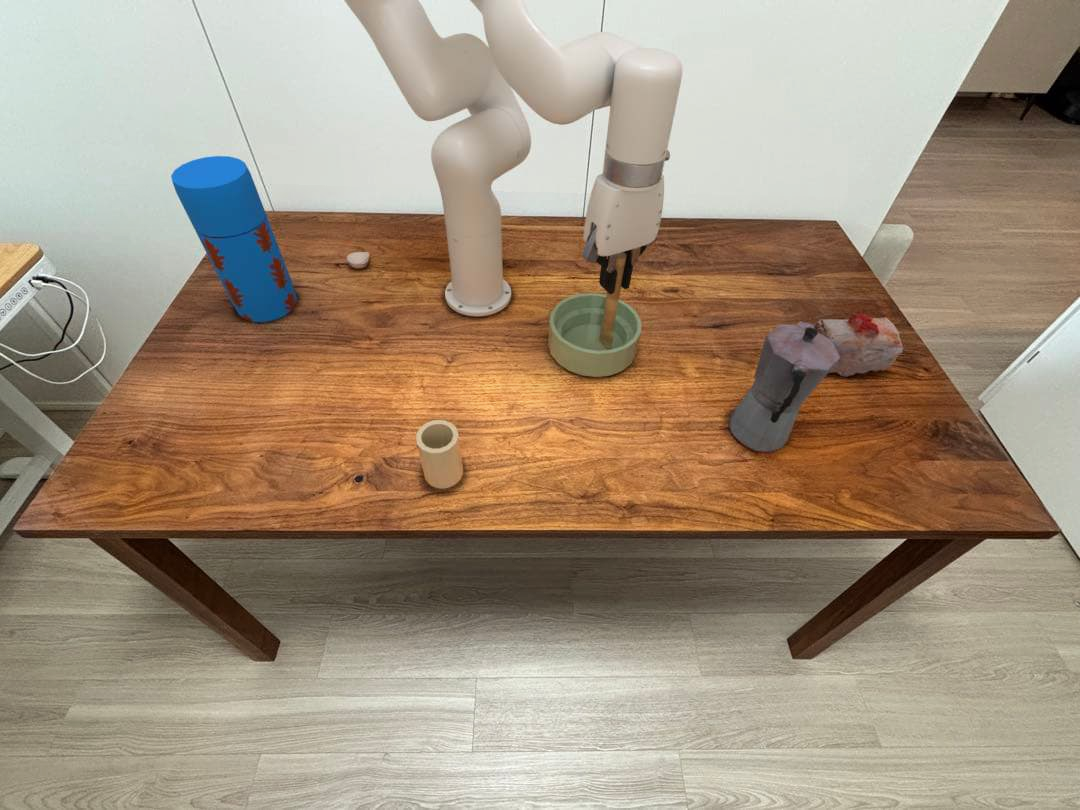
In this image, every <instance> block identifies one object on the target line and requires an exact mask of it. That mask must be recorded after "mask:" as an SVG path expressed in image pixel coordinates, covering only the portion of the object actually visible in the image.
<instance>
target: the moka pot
mask: <svg viewBox="0 0 1080 810" xmlns="http://www.w3.org/2000/svg"><path fill="white" fill-rule="evenodd" d="M814 326H815V325H813V324H812V323H808V322H804V321H801V320H800V321H798V322H797V324H779V325H777V326H776V327H775V328H774V329H773V330H771V331H770V332H769V333H768V334H767V335H766V336H765V338H764V342H763V345H762V347H761V348H762V349H761V353H760V355H759V359H758V363H757V365H756V368H755V371H754V375H753V378H754V381H753V384H752V386H751V387H750V388H749V390H748V391H747V392H746V393H745V395H744V397H743V398H742V399H741V400H740V402H739V403H738V404H737V406H736V408H735V409H734V410H733V411H732V413H731V414H730V418H729V421H728V422H729V424H728V427H729V429H730V432H731V434H732V435H733V436H734V437H735V439H736V440H738V441H739V442H740V443H741V444H742V445H744V446H746V447H747V448H749V449H751V450H753V451H755V452H763V453H769V452H776V451H778V450H780V449H781V448H783V447H784V446H786V444H787V442H788V440H789V437H790V435H791V432H792V430H793V427H794V425H795V422H796V419H797V417H798V414H799V411H800V409H801V406H802V405H803V403H804V402H805V401H806V400H807V398H808V397H810V396H811V395H812V393H813V392H814V391H815V390H816V388H817V387H818V386H819V385H820V383H821V382H822V381H823V380H824V379H825V377H826V376H827V375H828V374H830V373H829V371H830V370H831V369H832V368H833V367H834V365H835V364H836V363H837V362H838V361H839V359H840V356H839V354H838V352H837V350H836V349H835V347H834V345H833V343H832V341H831V339H829V338H827V337H826V336H824V335H822V334H820V333H818V331H817V330H816V329H815V328H814Z"/></svg>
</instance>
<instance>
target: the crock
mask: <svg viewBox="0 0 1080 810" xmlns="http://www.w3.org/2000/svg"><path fill="white" fill-rule="evenodd" d="M458 431H459V430H458V428H457V427H456V426H455V425H454V423H452V422H450V421H447V420H445V419H433V420H430V421H428V422H425V423H424V424H423V425H422V426H421V427H420V428H418V430H417V432H416V434H415V441H416V446H417V450H418V454H419V459H420V462H421V468H422V471H423V476H424V480H425V481H426V483H427V484H428V485H429V486H431V487H433V488H436V489H448V488H451V487H453V486H455V485H456V484H458V483H459V482H460V480H461V479H462V477H463V474H464V465H463V457H462V451H461V450H462V449H461V443H460V437H459V436H460V435H459V432H458Z"/></svg>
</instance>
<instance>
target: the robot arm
mask: <svg viewBox="0 0 1080 810" xmlns="http://www.w3.org/2000/svg"><path fill="white" fill-rule="evenodd" d="M343 1H344V2H345V4H346V5H347V7H348V8H349V9H350V10H351V12H352V13H353V14H354V16H355V17H356V19H357V20H358V21H359V22H360V24H361V25H362V27H363V28H364V29H365V32H367V35H368V36H369V38H370V39H371V40H372V42H373V44H374V46H375V48H376V50H377V52H378V54H379V56H380V57H381V59H382V60H383V63H384V64H385V66H386V67H387V70H388V71H389V73H390V75H391V77H392V78H393V80H394V82H395V84H396V85H397V87H398V89H399V91H400V92H401V94H402V96H403V97H404V99H405V100H406V102H407V104H408V105H409V107H410V108H411V110H412V112H413V113H414V114H415V115H416V116H417V118H419V119H421V120H422V121H425V122H436V121H441V120H444V119H445V118H448V117H450V116H452V115H455V114H457V113H459V112H462V111H464V110H467V111H468V112H469V114H470V116H468V117H466V118H464V119H462V120H459V121H458V122H455V123H453V124H451V125H450V126H448V127H446V128H445V129H443V131H441V132H440V133H439V135H437V137H436V138H435V140H434V141H433V144H432V146H431V152H430V160H431V166H432V168H433V172H434V175H435V178H436V181H437V184H438V188H439V192H440V196H441V202H442V209H443V215H444V225H445V231H446V232H445V233H446V240H447V248H448V258H449V259H448V260H449V269H450V277H451V280H450V282H448V284H447V285H446V288H445V290H444V299H445V302H446V304H447V305H448V307H449V308H451V309H452V310H453V311H454V312H456V313H458V314H460V315H464V316H468V317H486V316H487V317H488V316H491V315H494V314H497V313H499V312H500V311H502V310H504V309H505V308H506V307H507V306H508V305H509V303H510V301H511V299H512V288H511V286H510V284H509V282H508V281H507V280H505V279H504V272H503V270H504V268H503V266H504V265H503V228H502V211H501V210H502V209H501V205H500V202H499V200H498V197H496V195H495V194H494V191H493V189H492V184H493V182H494V181H496V180H497V179H498V178H500V177H501V176H503V175H505V174H506V173H508V172H510V171H512V170H513V169H515V168H517V167H518V166H520V164H522V163H524V161H525V160H526V159H527V157H528V156H529V154H530V151H531V147H532V136H531V130H530V127H529V123H528V121H527V119H526V116H525V114H524V112H523V110H522V108H521V106H520V103H519V102H518V99H517V97H516V96H515V93H516V94H517V95H518V96H519V97H520V99H521V100H522V101H523V102H524V103H525V104H526V105H527V106H528V107H529V108H530V109H531V110H532V111H533V112H534V113H535V114H537V115H538V116H539V117H541V118H542V119H543V120H545V121H547V122H549V123H551V124H555V125H559V126H564V125H569V124H573V123H575V122H577V121H580V119H582V118H585V117H586V116H587V115H589V114H591V113H593V112H594V111H596V110H600V109H603V108H607V107H609V115H608V123H607V130H606V131H607V132H606V141H605V148H604V157H603V165H602V173H601V174H598V175H597V176H596V178H595V180H594V183H593V186H592V189H591V192H590V196H589V200H588V205H587V207H586V208H587V209H586V214H585V220H584V226H583V235H582V236H583V237H582V238H583V239H582V240H583V242H584V243H585V244H586V245H585V247H584V248H583V251H582V253H581V258H582V259H583V260H584V261H585V262H586V263H591V264H597V265H599V266H600V271H599V279H598V280H599V281H598V283H599V285H600V286H601V288H602V289H604V290H605V291H606V293H607V292H608V293H609V294H613V293H614V292H615V286H616V279H617V271H616V270H615V265H616V259H617V253H621V252H624V253H625V254H626V261H625V267H624V273H623V278H622V284H621V288H622V289H623V290H628V289H630V287H631V280H632V275H633V271H634V270H633V269H634V266H636V265H637V264H638V263H639V259H640V256H641V255H642V254H643V253H644V252H645V251H646V249H647V248H649V247H650V246H652V245H653V244H654V243H656V242H657V241H658V234H659V230H660V225H661V220H662V217H663V216H662V215H663V207H664V199H665V198H664V197H665V176H664V174H663V172H664V168H665V163H666V162H667V161H670V158H671V153H670V150H669V149H668V148H669V143H670V138H671V133H672V128H673V123H674V118H675V113H676V108H677V103H678V98H679V93H680V90H681V84H682V77H683V66H682V65H683V64H682V62H681V60H680V59H679V58H678V56H676V55H675V54H673V53H671V52H669V51H666V50H663V49H659V48H647V47H644V48H643V47H641V46H639V45H637V44H635V43H632V42H631V41H628V40H627V39H625V38H623V37H621V36H619V35H617V34H614V33H611V32H607V31H598V32H594V33H590V34H588V35H586V36H583V37H581V38H578V39H576V40H573V41H571V42H568V43H566V44H563V45H560V46H558V45H557V44H556V43H554V42H553V40H552V39H551V38H550V37H549V36H548V35H547V34H546V33H545V31H544V30H542V28H541V27H540V26H539V25H538V24H537V22H536V21H535V20H534V19H533V17H532V16H531V14H530V13H529V11H528V10H527V7H526V4H525V3H524V0H469V1H470V3H472V4H473V5H474V7H476V9H477V10H478V12H480V14H481V16H482V21H483V31H484V35H485V38H486V39H485V40H486V43H487V44H486V43H485V41H484V40H482V39H481V38H480V37H478V36H476V35H474V34H471V33H466V32H462V33H461V32H460V33H456V34H452V35H449V36H446V37H441V35H439V34H438V32H437V31H436V29H435V27H434V26H433V24H432V22H431V21H430V19H429V17H428V14H427V12H426V10H425V8H424V7H423V5H422V3H421V2H420V1H419V0H343ZM513 91H514V92H513Z"/></svg>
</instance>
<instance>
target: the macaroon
mask: <svg viewBox="0 0 1080 810" xmlns="http://www.w3.org/2000/svg"><path fill="white" fill-rule="evenodd" d="M346 261H347V264H348V265H349V266H350V267H351V268H353V269H356V270H357V269H362V268H365V267H366V266H367V265H368V263H369V261H370V252H368V251H355V252H351V253H349V254H348V255H347V256H346Z"/></svg>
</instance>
